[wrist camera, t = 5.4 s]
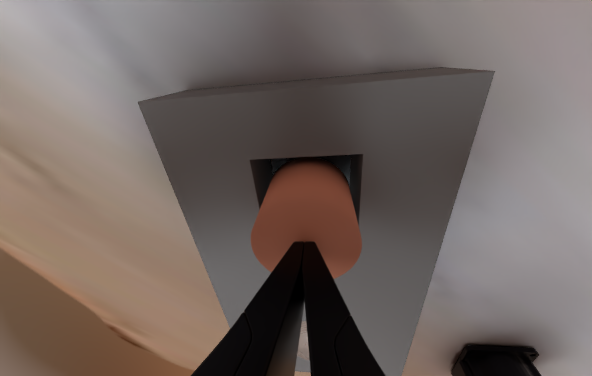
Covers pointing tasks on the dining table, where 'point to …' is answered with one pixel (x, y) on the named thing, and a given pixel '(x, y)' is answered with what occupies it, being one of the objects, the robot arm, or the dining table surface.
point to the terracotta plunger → (308, 215)
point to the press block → (363, 180)
